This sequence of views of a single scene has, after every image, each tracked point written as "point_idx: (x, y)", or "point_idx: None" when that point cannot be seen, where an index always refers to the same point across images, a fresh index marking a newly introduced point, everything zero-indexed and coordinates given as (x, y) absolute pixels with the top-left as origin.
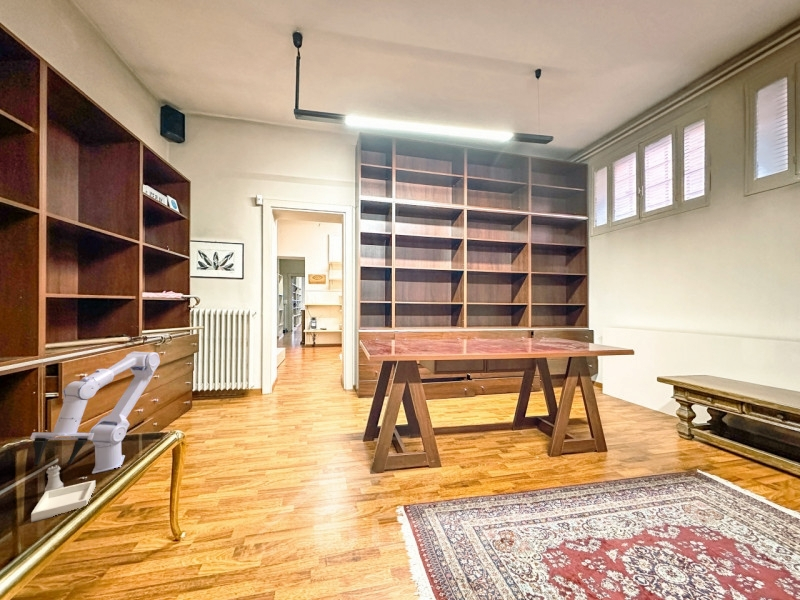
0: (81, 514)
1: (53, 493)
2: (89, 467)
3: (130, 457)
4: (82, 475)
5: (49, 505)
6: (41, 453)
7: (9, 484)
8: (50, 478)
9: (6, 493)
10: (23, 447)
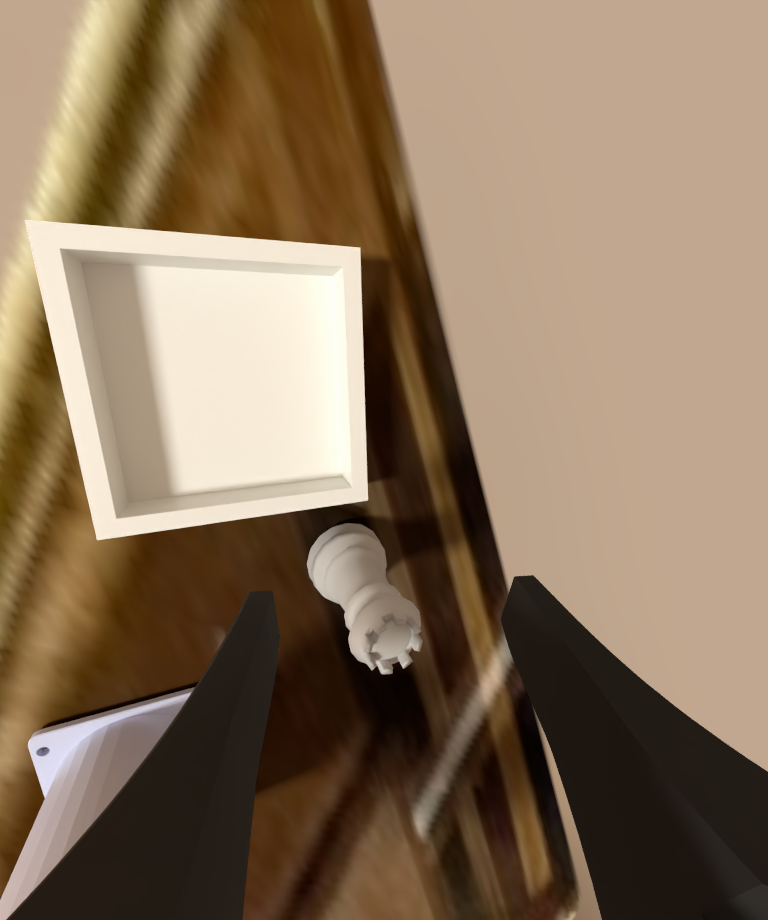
0: (58, 157)
1: (326, 485)
2: None
3: None
4: None
5: (311, 388)
6: (558, 710)
7: None
8: (379, 580)
9: None
10: (542, 901)
